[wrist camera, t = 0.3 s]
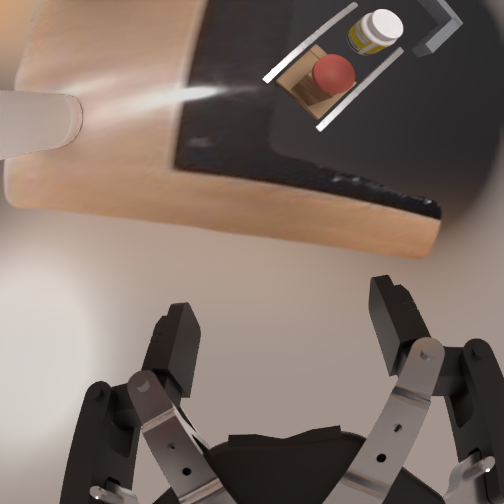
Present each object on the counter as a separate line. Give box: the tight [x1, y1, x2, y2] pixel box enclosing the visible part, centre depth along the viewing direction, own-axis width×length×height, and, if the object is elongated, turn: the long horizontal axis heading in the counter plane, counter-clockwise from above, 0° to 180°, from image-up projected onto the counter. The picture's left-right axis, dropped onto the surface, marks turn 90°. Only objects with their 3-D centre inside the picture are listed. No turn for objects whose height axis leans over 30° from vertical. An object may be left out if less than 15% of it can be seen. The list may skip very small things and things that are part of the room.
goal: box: [412, 0, 463, 57], centre depth 24 cm, size 14×11×4 cm
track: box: [263, 2, 404, 132], centre depth 30 cm, size 10×18×1 cm, turn 138°
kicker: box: [275, 45, 356, 120], centre depth 26 cm, size 7×7×13 cm
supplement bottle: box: [347, 9, 403, 56], centre depth 25 cm, size 5×5×8 cm
